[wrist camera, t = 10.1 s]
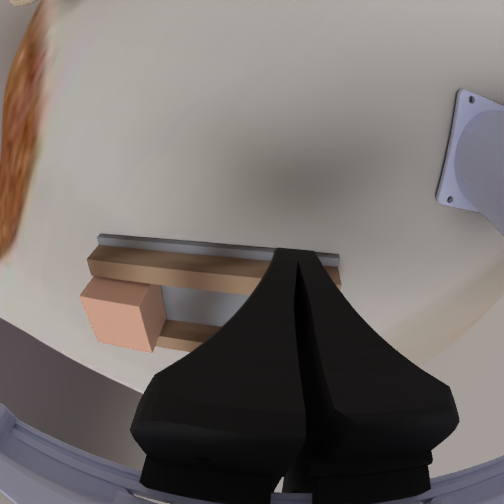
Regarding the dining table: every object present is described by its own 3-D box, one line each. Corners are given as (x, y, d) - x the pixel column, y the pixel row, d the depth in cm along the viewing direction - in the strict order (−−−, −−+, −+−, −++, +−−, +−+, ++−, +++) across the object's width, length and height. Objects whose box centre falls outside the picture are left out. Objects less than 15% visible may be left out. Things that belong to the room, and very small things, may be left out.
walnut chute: (338, 254, 21) (343, 276, 19) (314, 347, 26) (315, 369, 24) (100, 233, 22) (84, 251, 20) (124, 323, 27) (115, 342, 25)
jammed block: (158, 271, 22) (138, 306, 19) (166, 317, 25) (152, 353, 22) (102, 264, 23) (79, 295, 19) (116, 309, 26) (98, 341, 22)
